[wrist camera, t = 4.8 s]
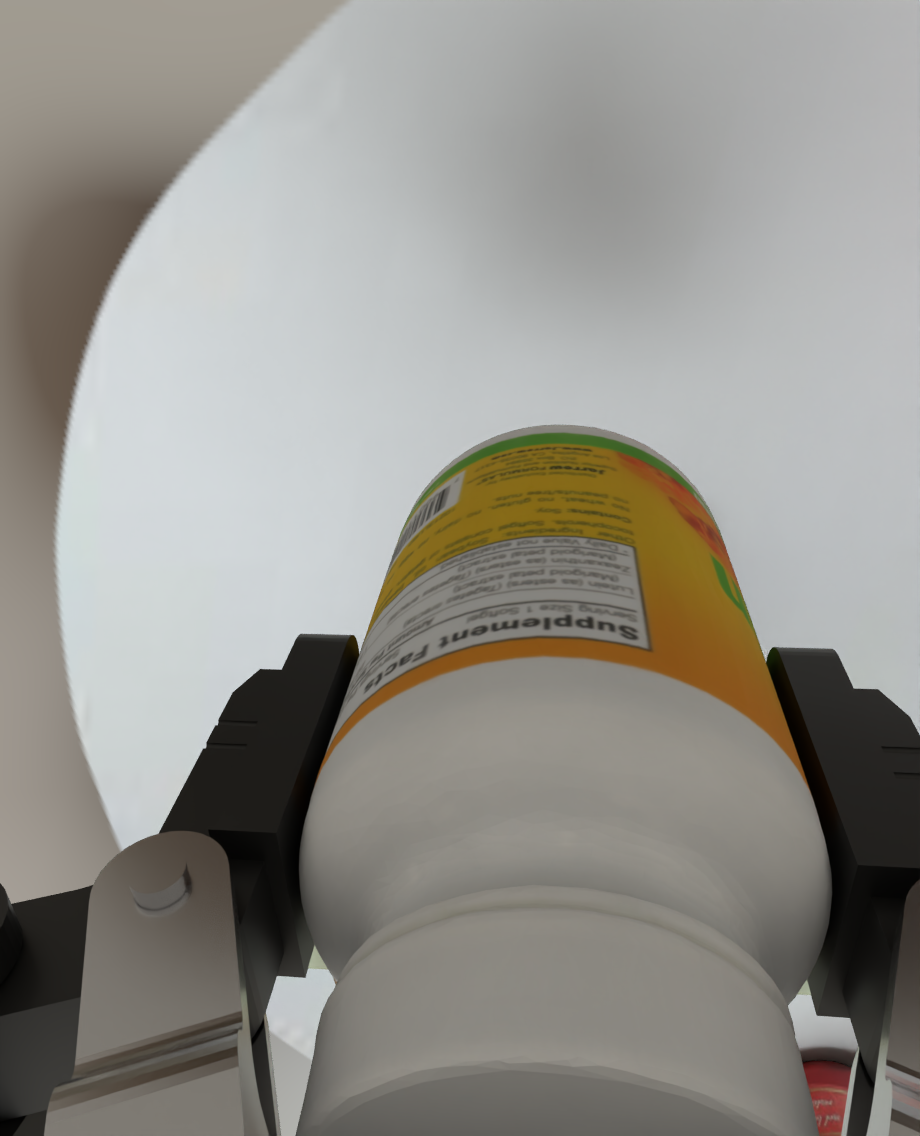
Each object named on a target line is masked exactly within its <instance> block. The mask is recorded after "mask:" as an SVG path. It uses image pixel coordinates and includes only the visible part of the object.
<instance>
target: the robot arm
mask: <svg viewBox="0 0 920 1136" xmlns="http://www.w3.org/2000/svg"><path fill="white" fill-rule="evenodd" d="M358 657H359V649H358V643H357V640H356V638H355V636H354V635H325V634H300V635H299V636H298V637H297V639H296V640H295V642H294V645H293V647H292V649H291V651H290V653H289V655H288V658H287V660H286V662H285V664H284V666H283V668H282V670H271V669H260V670H259V671H257V672H256V673H255V674H254V675H253V676H252V677H250V678H249V679H248V680H247V681H246V682H245V683H243V684H242V685H241V686H240V687H239V688H238V689H236V690H235V691H234V692H233V693H232V695H231V697H230V699H229V701H228V703H227V705H226V706H225V708H224V710H223V712H222V714H221V716H220V718H219V720H218V721H219V723H218V726H217V725H215V727H214V729H213V731H212V733H211V735H210V737H209V739H208V741H207V746H206V749H203V750H202V752H201V754H200V756H199V758H198V760H197V762H196V764H195V765H194V767H193V769H192V771H191V773H190V775H189V777H188V779H187V781H186V783H185V784H184V786H183V788H182V790H181V792H180V794H179V796H178V798H177V800H176V802H175V804H174V805H173V807H172V809H171V811H170V813H169V815H168V817H167V819H166V821H165V823H164V824H163V826H162V828H161V830H160V832H159V834H156V835H153V836H150V837H147V838H145V839H142V840H140V841H138V842H136V843H134V844H132V845H131V846H129V847H127V848H126V849H124V850H123V851H122V852H120V853H119V854H117V855H116V856H115V857H114V858H113V859H112V860H111V861H110V862H109V863H108V864H107V865H106V866H105V867H104V869H103V870H102V871H101V872H100V874H99V876H98V877H97V879H96V880H95V882H94V885H92V886H89V887H85V888H82V889H78V890H74V891H69V892H65V893H60V894H56V895H51V896H46V897H41V898H37V899H32V900H28V901H23V902H19V903H14V904H11V903H10V900H9V898H8V896H7V893H6V891H5V889H4V887H3V886H2V885H1V884H0V1136H281V1131H280V1122H279V1113H278V1104H277V1095H276V1088H275V1079H274V1070H273V1061H272V1052H271V1044H270V1036H269V1026H268V1021H267V1016H266V1009H267V1006H268V1003H269V999H270V996H271V993H272V990H273V987H274V983H275V980H276V977H277V976H289V977H303V978H305V977H306V974H307V970H308V966H309V963H310V959H311V956H312V952H313V949H314V945H315V944H314V941H313V939H312V936H311V933H310V931H309V928H308V926H307V922H306V918H305V914H304V910H303V906H302V902H301V893H300V881H299V851H300V843H301V837H302V832H303V827H304V822H305V818H306V815H307V811H308V808H309V804H310V799H311V796H312V792H313V789H314V785H315V782H316V779H317V775H318V772H319V770H320V767H321V764H322V762H323V759H324V757H325V754H326V751H327V748H328V745H329V742H330V739H331V736H332V733H333V731H334V728H335V725H336V722H337V719H338V716H339V714H340V711H341V708H342V705H343V702H344V699H345V696H346V693H347V690H348V687H349V684H350V681H351V678H352V676H353V673H354V670H355V667H356V664H357V661H358ZM766 664H767V667H768V670H769V673H770V676H771V679H772V682H773V685H774V687H775V690H776V693H777V696H778V699H779V702H780V705H781V708H782V710H783V713H784V716H785V719H786V722H787V725H788V728H789V731H790V734H791V736H792V739H793V742H794V745H795V748H796V751H797V754H798V757H799V759H800V762H801V765H802V768H803V771H804V774H805V777H806V780H807V783H808V786H809V789H810V792H811V795H812V798H813V801H814V804H815V807H816V810H817V813H818V817H819V821H820V825H821V828H822V831H823V834H824V838H825V842H826V847H827V851H828V856H829V862H830V868H831V874H832V901H831V911H830V919H829V926H828V929H827V933H826V936H825V940H824V943H823V947H822V949H821V952H820V954H819V957H818V959H817V962H816V964H815V966H814V967H813V969H812V971H811V973H810V975H809V977H808V978H807V981H808V985H809V989H810V992H811V996H812V1000H813V1003H814V1007H815V1011H816V1015H817V1016H831V1017H845V1018H850V1019H851V1023H852V1026H853V1029H854V1032H855V1036H856V1039H857V1042H858V1049H857V1052H856V1055H855V1058H854V1061H853V1065H852V1069H851V1075H850V1081H849V1088H848V1094H847V1101H846V1107H845V1114H844V1120H843V1127H842V1134H841V1136H920V735H919V733H918V731H917V729H916V728H915V726H914V724H913V722H912V720H911V718H910V717H909V716H908V715H907V714H906V713H905V712H904V711H902V710H901V709H900V708H899V707H898V706H897V705H895V704H894V703H893V702H892V701H891V700H890V699H889V698H887V697H886V696H885V695H884V694H883V693H882V692H880V691H879V690H878V689H854V688H853V686H852V684H851V682H850V680H849V677H848V675H847V673H846V671H845V669H844V667H843V665H842V662H841V660H840V658H839V656H838V654H837V653H836V652H835V650H833V649H816V648H779V647H773V648H772V649H771V650H770V652H769V654H768V657H767V661H766Z"/></svg>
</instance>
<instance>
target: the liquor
mask: <svg viewBox="0 0 920 1136" xmlns="http://www.w3.org/2000/svg"><path fill="white" fill-rule="evenodd" d="M803 1068H804V1072H805V1075H806V1079H807V1083H808V1087H809V1091H810V1094H811V1098H812V1103H813V1108H814V1112H815V1117H816V1122H817V1127H818V1131H819V1136H841V1134H842V1127H843V1120H844V1114H845V1107H846V1101H847V1094H848V1088H849V1081H850V1075H851V1069H852V1068H850V1067H848V1066H846V1065H843V1064H840V1063H837V1062H831V1061H808V1062H803Z"/></svg>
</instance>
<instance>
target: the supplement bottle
mask: <svg viewBox="0 0 920 1136" xmlns="http://www.w3.org/2000/svg"><path fill="white" fill-rule="evenodd" d="M299 881H300V893H301V902H302V906H303V910H304V914H305V918H306V922H307V926H308V928H309V931H310V933H311V936H312V939H313V941H314V944H315V947H316V949H317V951H318V953H319V954H320V956H321V958H322V960H323V962H324V963H325V965H326V967H327V968H328V970H329V971H330V973H331V975H332V976H333V978H334V979H335V980H336V981H337V983H336V986H335V989H334V991H333V992H332V994H331V995H330V996H329V998H328V1000H327V1002H326V1004H325V1007H324V1009H323V1011H322V1013H321V1018H320V1022H319V1026H318V1030H317V1035H316V1043H315V1050H314V1056H313V1061H312V1065H311V1070H310V1075H309V1079H308V1084H307V1089H306V1093H305V1098H304V1103H303V1107H302V1111H301V1115H300V1119H299V1123H298V1128H297V1132H296V1136H819V1131H818V1127H817V1122H816V1117H815V1112H814V1108H813V1103H812V1098H811V1094H810V1091H809V1087H808V1083H807V1079H806V1075H805V1072H804V1068H803V1063H802V1059H801V1054H800V1051H799V1048H798V1045H797V1042H796V1039H795V1032H794V1027H793V1022H792V1019H791V1015H790V1012H789V1009H788V1005H789V1004H790V1003H791V1001H792V1000H793V999H794V998H795V997H796V995H797V994H798V992H799V991H800V989H801V988H802V986H803V984H804V983H805V981H806V980H807V978H808V977H809V975H810V973H811V971H812V969H813V967H814V966H815V964H816V962H817V959H818V957H819V954H820V952H821V949H822V947H823V943H824V940H825V936H826V933H827V929H828V926H829V919H830V911H831V901H832V874H831V868H830V862H829V856H828V851H827V847H826V842H825V838H824V834H823V831H822V828H821V825H820V821H819V817H818V813H817V810H816V807H815V804H814V801H813V798H812V795H811V792H810V789H809V786H808V783H807V780H806V777H805V774H804V771H803V768H802V765H801V762H800V759H799V757H798V754H797V751H796V748H795V745H794V742H793V739H792V736H791V734H790V731H789V728H788V725H787V722H786V719H785V716H784V713H783V710H782V708H781V705H780V702H779V699H778V696H777V693H776V690H775V687H774V685H773V682H772V679H771V676H770V673H769V670H768V667H767V664H766V661H765V659H764V656H763V653H762V650H761V647H760V644H759V641H758V638H757V635H756V632H755V630H754V627H753V624H752V621H751V618H750V615H749V612H748V610H747V607H746V604H745V601H744V599H743V596H742V593H741V590H740V587H739V584H738V581H737V578H736V576H735V573H734V570H733V567H732V564H731V562H730V559H729V556H728V553H727V550H726V547H725V544H724V541H723V539H722V536H721V533H720V530H719V528H718V526H717V524H716V522H715V520H714V518H713V515H712V513H711V511H710V509H709V507H708V506H707V504H706V502H705V501H704V499H703V497H702V496H701V494H700V493H699V491H698V490H697V489H696V487H695V486H694V485H693V484H692V483H691V482H690V480H689V479H688V478H687V477H686V476H685V475H684V474H683V473H682V472H681V471H680V470H679V469H678V468H677V467H676V466H675V465H673V464H672V463H671V462H670V461H669V460H667V459H666V458H664V457H663V456H662V455H660V454H659V453H657V452H656V451H654V450H653V449H651V448H649V447H648V446H646V445H644V444H642V443H640V442H638V441H635V440H633V439H631V438H628V437H625V436H623V435H620V434H617V433H614V432H611V431H607V430H602V429H598V428H593V427H584V426H575V425H544V426H535V427H528V428H522V429H518V430H514V431H510V432H507V433H504V434H501V435H498V436H496V437H493V438H491V439H489V440H487V441H484V442H482V443H480V444H478V445H476V446H475V447H473V448H471V449H469V450H468V451H466V452H465V453H463V454H462V455H460V456H459V457H458V458H456V459H455V460H453V461H452V462H451V463H450V464H449V465H447V466H446V467H445V468H444V469H443V470H442V471H441V472H440V473H439V474H438V475H437V476H436V477H435V478H434V479H433V480H432V481H431V482H430V483H429V485H428V486H427V487H426V488H425V489H424V491H423V492H422V493H421V495H420V496H419V498H418V500H417V501H416V503H415V505H414V507H413V508H412V510H411V512H410V514H409V516H408V518H407V521H406V523H405V525H404V527H403V529H402V532H401V534H400V537H399V540H398V542H397V545H396V548H395V551H394V554H393V556H392V560H391V562H390V565H389V568H388V571H387V574H386V577H385V580H384V583H383V586H382V589H381V592H380V595H379V598H378V601H377V604H376V606H375V610H374V613H373V616H372V619H371V622H370V625H369V627H368V630H367V633H366V636H365V639H364V642H363V645H362V648H361V651H360V654H359V657H358V661H357V664H356V667H355V670H354V673H353V676H352V678H351V681H350V684H349V687H348V690H347V693H346V696H345V699H344V702H343V705H342V708H341V711H340V714H339V716H338V719H337V722H336V725H335V728H334V731H333V733H332V736H331V739H330V742H329V745H328V748H327V751H326V754H325V757H324V759H323V762H322V764H321V767H320V770H319V772H318V775H317V779H316V782H315V785H314V789H313V792H312V796H311V799H310V804H309V808H308V811H307V815H306V818H305V822H304V827H303V832H302V837H301V843H300V851H299Z"/></svg>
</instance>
